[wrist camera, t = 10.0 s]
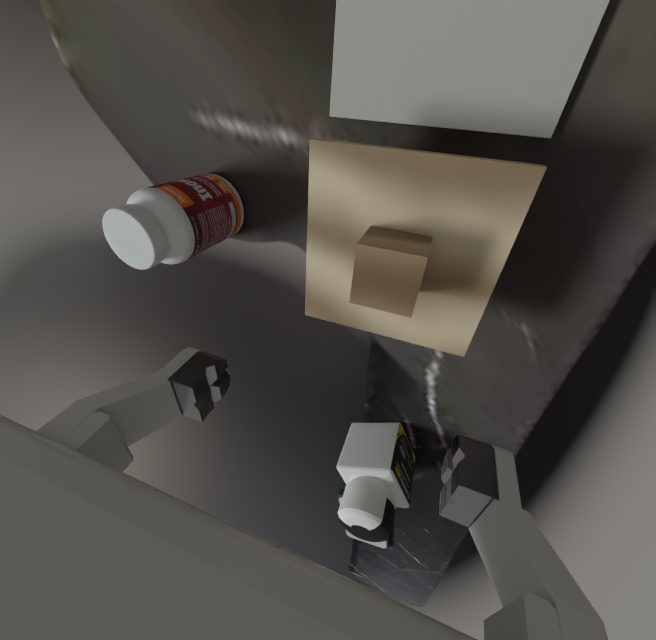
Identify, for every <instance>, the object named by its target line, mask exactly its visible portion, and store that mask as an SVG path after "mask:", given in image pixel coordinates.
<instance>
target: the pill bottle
mask: <svg viewBox="0 0 656 640" xmlns="http://www.w3.org/2000/svg"><path fill="white" fill-rule="evenodd" d="M243 220H244V209H243V204H242V201H241V198H240V196H239V194H238V193H237V191H236V189H235V188H234V187H233V186H232V184H230V183H229V182H228V181H227V180H226V179H224V178H223V177H221V176H218V175H215V174H202V175H198V176H194V177H189V178H185V179H181V180H177V181H172V182H168V183H164V184H160V185H156V186H152V187H148V188H144V189H141V190H138V191H136V192H134V193H133V194H132V195H131V196H130V197H129V199H128V201H127V203H126V204H124V205H121V206H118V207H115V208H112V209H109V210H108V211H107V212H106V213H105V214H104V217H103V221H102V222H103V231H104V234H105V237H106V239H107V241H108V243H109V245H110V246H111V248H112V249H113V251H114V252H115V253H116V255H117V256H118V257H119V258H120V259H121V260H122V261H124V262H125V263H126V264H128V265H130V266H131V267H134V268H136V269H142V270H143V269H148V268H151V267H153V266H155V265H157V264H159V263H160V262H161V263H165V264H177V263H181V262H183V261H185V260H187V259H189V258H191V257H193V256H195V255H197V254H199V253H200V252H202V251H204V250H206V249H208V248H210V247H212V246H214V245H216V244H217V243H220V242H221V241H223V240H225V239H227V238H229V237H231V236H232V235H234V234H235V233H237V232H238V231H239V229H240V228H241V226H242V224H243Z"/></svg>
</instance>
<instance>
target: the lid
mask: <svg viewBox="0 0 656 640" xmlns="http://www.w3.org/2000/svg"><path fill="white" fill-rule="evenodd" d="M546 168H547V167H546V166H545V165H541V164H532V163H524V162H515V161H506V160H498V159H489V158H480V157H472V156H463V155H454V154H446V153H437V152H428V151H420V150H411V149H402V148H394V147H385V146H376V145H368V144H359V143H350V142H342V141H333V140H324V139H316V138H314V139H310V150H309V187H308V223H307V260H306V261H307V262H306V296H305V298H306V299H305V300H306V301H305V315H308V316H312V317H316V318H319V319H324V320H327V321H331V322H334V323H338V324H342V325H346V326H349V327H353V328H357V329H361V330H365V331H368V332H372V333H376V334H380V335H383V336H387V337H391V338H395V339H398V340H402V341H406V342H410V343H413V344H417V345H421V346H425V347H429V348H432V349H436V350H440V351H444V352H447V353H451V354H455V355H459V356H462V357H464V355H465V353H466V351H467V349H468V346H469V344H470V342H471V339H472V337H473V335H474V333H475V330H476V328H477V326H478V323H479V321H480V319H481V317H482V314H483V312H484V310H485V308H486V305H487V303H488V301H489V298H490V296H491V294H492V292H493V289H494V287H495V285H496V282H497V280H498V278H499V276H500V273H501V271H502V269H503V266H504V264H505V262H506V260H507V257H508V255H509V253H510V251H511V248H512V246H513V244H514V241H515V239H516V237H517V235H518V232H519V230H520V228H521V225H522V223H523V221H524V219H525V216H526V214H527V212H528V210H529V207H530V205H531V203H532V200H533V198H534V196H535V194H536V191H537V189H538V187H539V184H540V182H541V180H542V178H543V175H544V173H545V171H546Z"/></svg>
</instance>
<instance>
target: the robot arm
mask: <svg viewBox="0 0 656 640" xmlns="http://www.w3.org/2000/svg"><path fill="white" fill-rule="evenodd" d="M227 367H228V364H227V360H226V359H223V358H220V357H218V356H215V355H212V354H209V353H206V352H204V351H201V350H198V349H195V348H192V347H188V348H186V349H184V350H183V351H182V352H181V353H179V354H178V355H177V356H176V357H175V358H174V359H173V360H172V361H170V362H169V363H168V364H167V365H166V366H165V367H163V368H162V369H161V370H160V371H159V372H158V373H157V374H155V375H152V374H150V375H147V376H145V377H142V378H139V379H136V380H133V381H130V382H127V383H125V384H122V385H119V386H116V387H113V388H111V389H107V390H105V391H102V392H99V393H96V394H93V395H90V396H88V397H85V398H82V399H79V400H77V401H76V402H74V403H73V404H71V405H70V406H69V407H67V408H66V409H65V410H64V411H62V412H61V413H60V414H58V415H57V416H56V417H54V418H53V419H52V420H50V421H49V422H48V423H46V424H45V425H44V426H42V427H41V428H40V429H39V430H37V431H34V430H32V429H30V428H28V427H25V426H24V425H21V424H19V423H17V422H15V421H13V420H11V419H9V418H6V417H4V416H2V415H0V640H477V639H475V638H473V637H471V636H469V635H466V634H464V633H462V632H460V631H458V630H456V629H454V628H452V627H449V626H447V625H445V624H443V623H441V622H439V621H437V620H435V619H433V618H430V617H428V616H426V615H424V614H422V613H420V612H418V611H416V610H413V609H411V608H409V607H407V606H405V605H403V604H401V603H398V602H397V601H394V600H392V599H390V598H388V597H386V596H384V595H382V594H379V593H377V592H375V591H373V590H371V589H369V588H367V587H365V586H363V585H360V584H358V583H356V582H354V581H352V580H350V579H348V578H346V577H344V576H341V575H339V574H337V573H335V572H333V571H331V570H329V569H326V568H324V567H322V566H320V565H318V564H316V563H314V562H312V561H310V560H307V559H305V558H303V557H301V556H299V555H297V554H295V553H293V552H290V551H288V550H286V549H284V548H282V547H280V546H278V545H276V544H274V543H271V542H269V541H267V540H265V539H263V538H261V537H259V536H257V535H255V534H252V533H250V532H248V531H246V530H244V529H241V528H240V527H238V526H235V525H233V524H231V523H229V522H227V521H225V520H223V519H221V518H218V517H216V516H214V515H212V514H210V513H208V512H205V511H204V510H201V509H199V508H197V507H195V506H193V505H191V504H189V503H187V502H185V501H182V500H180V499H178V498H176V497H174V496H172V495H170V494H168V493H166V492H163V491H161V490H159V489H157V488H155V487H153V486H151V485H149V484H146V483H144V482H142V481H140V480H138V479H136V478H134V477H132V476H129V475H127V474H125V473H123V471H124V470H125V469H126V468H127V467H128V466H129V464H130V463H131V462H132V461H133V455H132V453H131V452H130V450H129V448H128V446H130V445H131V444H133V443H135V442H137V441H139V440H140V439H142V438H144V437H146V436H148V435H149V434H151V433H153V432H155V431H157V430H158V429H160V428H162V427H164V426H166V425H168V424H169V423H171V422H173V421H175V420H177V419H178V418H180V417H182V415H184V416H186V417H189V418H192V419H195V420H198V421H200V422H203V421H204V419H205V418H206V417H207V416H208V415H209V413H210V412H211V411H212V410H213V409H214V402H215V401H218V400H220V399H222V398H223V396H224V395H225V394H226V392H227V390H228V388H229V386H230V375H229V374H228V372H227V371H226V370H225V369H226V368H227ZM441 479H442V481H443V482H444V484H445V486H444V488H443V489H442V491H441V493H440V514H439V515H441V516H443V517H445V518H448V519H450V520H453V521H455V522H457V523H460V524H462V525H464V526H467V527H469V531H470V533H471V535H472V537H473V540H474V542H475V544H476V546H477V549H478V551H479V553H480V556H481V558H482V560H483V562H484V565H485V567H486V569H487V572H488V574H489V576H490V578H491V581H492V583H493V585H494V587H495V590H496V592H497V594H498V596H499V599H500V601H501V603H502V606H503V608H502V609H501V610H499V611H498V612H496V613H494V614H493V615H491V616H489V617H488V618H487V619H485V620H484V640H608V638H607V634H606V630H605V626H604V623H603V621H602V619H601V618H600V616H599V615H598V613H597V612H596V611H595V609H594V608H593V607H592V605H591V603H590V602H589V600H588V599H587V597H586V596H585V595H584V593H583V592H582V590H581V589H580V587H579V586H578V584H577V583H576V581H575V580H574V578H573V577H572V575H571V574H570V573H569V571H568V570H567V568H566V567H565V565H564V564H563V562H562V561H561V559H560V558H559V556H558V555H557V554H556V552H555V551H554V549H553V548H552V546H551V545H550V543H549V542H548V540H547V539H546V537H545V536H544V535H543V533H542V532H541V530H540V529H539V527H538V526H537V524H536V523H535V521H534V520H533V519H532V517H531V516H530V514H529V513H528V511H525V510H523V509H522V508H521V501H520V494H519V488H518V481H517V475H516V468H515V461H514V456H513V454H512V452H510V451H507V450H504V449H501V448H498V447H495V446H492V445H490V444H487V443H484V442H480V441H477V440H474V439H471V438H468V437H464V436H461V435H458V434H457V435H456V436H455V438H454V439H453V445H452V448H450V449H448V451H447V453H446V455H445V458H444V461H443V466H442V476H441Z"/></svg>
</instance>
